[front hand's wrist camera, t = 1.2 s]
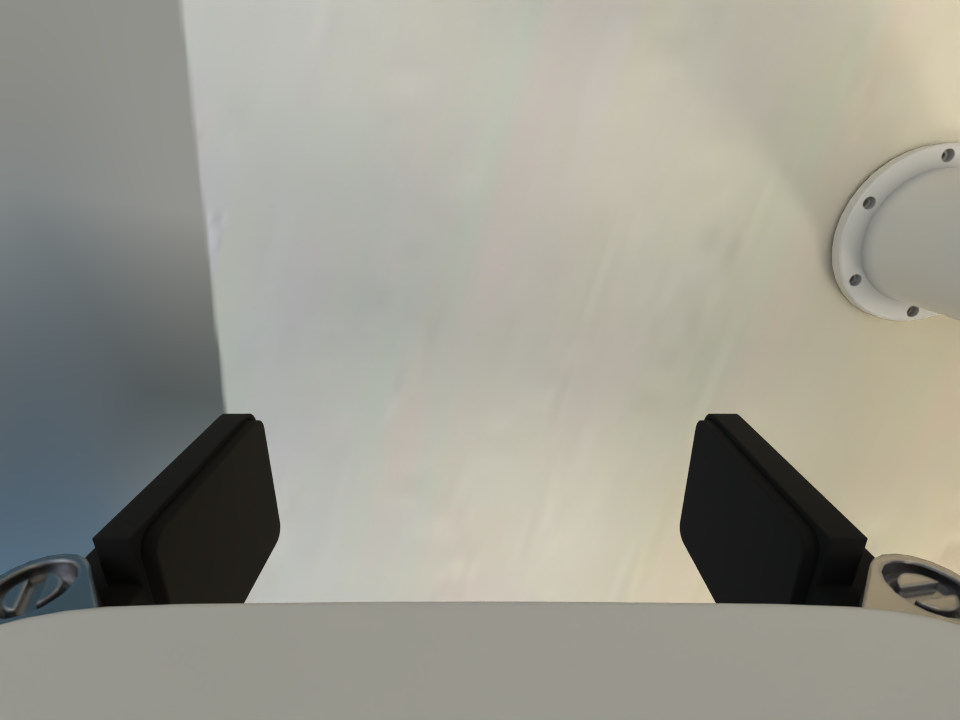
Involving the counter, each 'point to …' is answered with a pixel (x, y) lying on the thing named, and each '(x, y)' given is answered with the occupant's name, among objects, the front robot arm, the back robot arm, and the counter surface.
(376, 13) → the counter surface
